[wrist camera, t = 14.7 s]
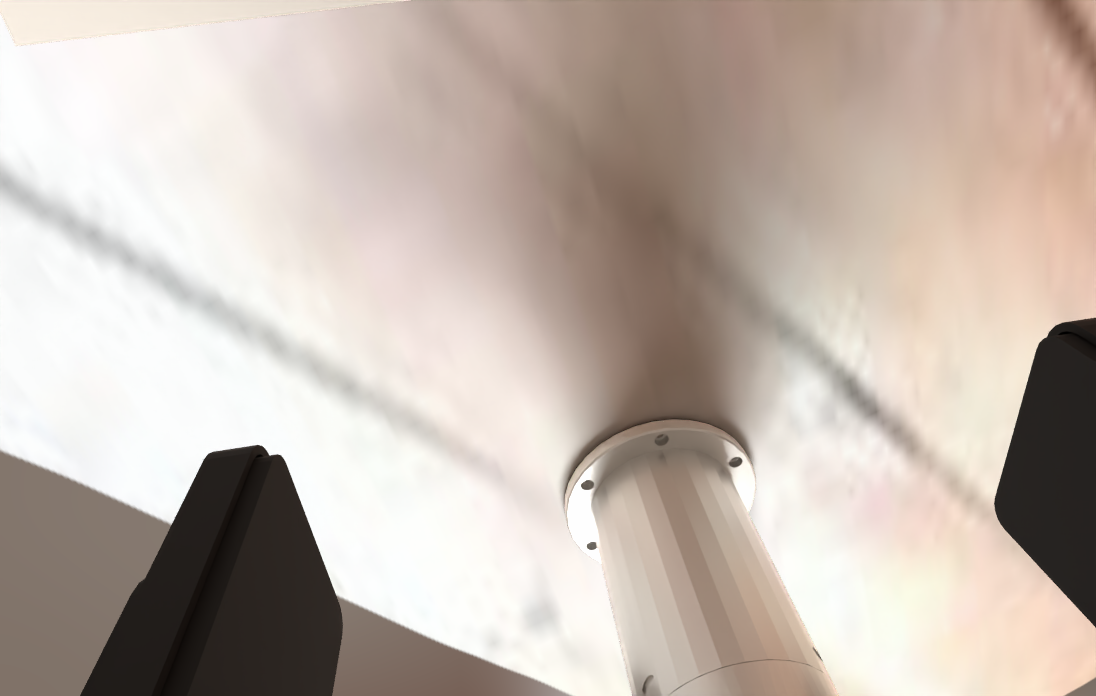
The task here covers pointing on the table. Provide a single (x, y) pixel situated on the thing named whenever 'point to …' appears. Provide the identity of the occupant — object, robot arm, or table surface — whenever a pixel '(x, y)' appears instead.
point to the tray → (141, 15)
